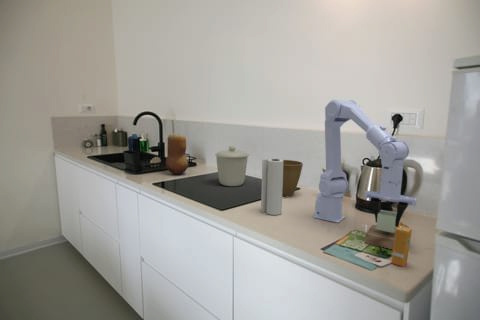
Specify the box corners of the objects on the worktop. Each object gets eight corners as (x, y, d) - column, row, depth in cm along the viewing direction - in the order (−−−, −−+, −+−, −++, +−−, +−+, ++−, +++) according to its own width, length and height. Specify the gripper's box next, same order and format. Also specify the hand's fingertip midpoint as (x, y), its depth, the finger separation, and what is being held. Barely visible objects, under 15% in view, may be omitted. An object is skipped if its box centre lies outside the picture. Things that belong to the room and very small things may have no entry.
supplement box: (404, 267, 83) (408, 231, 81) (390, 263, 85) (394, 228, 83) (408, 263, 85) (412, 228, 84) (394, 259, 87) (398, 224, 86)
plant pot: (279, 200, 142) (280, 165, 139) (264, 192, 156) (265, 160, 153) (307, 197, 147) (309, 163, 145) (290, 189, 161) (292, 158, 158)
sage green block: (376, 229, 98) (377, 213, 97) (379, 224, 102) (381, 209, 101) (393, 233, 95) (395, 217, 94) (396, 228, 99) (398, 212, 98)
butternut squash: (192, 173, 198) (192, 133, 194) (180, 177, 186) (179, 135, 182) (174, 171, 203) (173, 132, 199) (161, 175, 191) (160, 133, 187)
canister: (250, 181, 178) (251, 144, 175) (245, 189, 161) (246, 148, 157) (219, 179, 181) (219, 143, 178) (211, 187, 164) (211, 147, 160)
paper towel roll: (284, 213, 125) (286, 159, 121) (275, 216, 121) (277, 161, 117) (270, 208, 130) (272, 157, 126) (260, 212, 126) (262, 159, 122)
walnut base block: (364, 243, 98) (365, 233, 97) (372, 233, 106) (372, 224, 105) (400, 251, 92) (401, 242, 92) (405, 240, 100) (406, 231, 100)
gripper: (362, 179, 97) (359, 222, 99) (416, 187, 89) (411, 233, 91) (368, 176, 102) (365, 216, 105) (419, 182, 94) (414, 225, 96)
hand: (387, 223), depth 98 cm, fingers closed on sage green block, 5 cm apart
